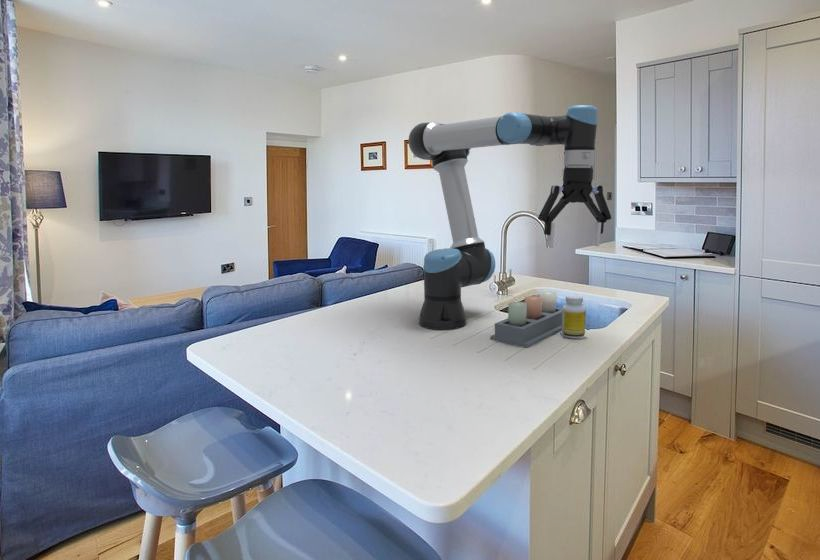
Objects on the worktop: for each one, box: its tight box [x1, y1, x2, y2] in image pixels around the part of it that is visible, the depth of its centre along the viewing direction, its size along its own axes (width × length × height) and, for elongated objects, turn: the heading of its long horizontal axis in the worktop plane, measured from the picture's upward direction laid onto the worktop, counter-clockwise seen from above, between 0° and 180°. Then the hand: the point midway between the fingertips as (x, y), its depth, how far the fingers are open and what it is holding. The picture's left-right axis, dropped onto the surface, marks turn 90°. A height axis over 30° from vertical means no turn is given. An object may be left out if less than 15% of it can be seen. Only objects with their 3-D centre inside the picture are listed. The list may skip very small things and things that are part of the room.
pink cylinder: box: [524, 295, 542, 320], centre depth 148 cm, size 5×5×6 cm
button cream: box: [538, 290, 557, 314], centre depth 155 cm, size 5×5×6 cm
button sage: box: [507, 301, 527, 327], centre depth 142 cm, size 5×5×6 cm
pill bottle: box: [560, 294, 587, 340], centre depth 144 cm, size 6×6×12 cm
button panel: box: [489, 307, 562, 349], centre depth 149 cm, size 12×27×5 cm, turn 138°
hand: (572, 246), depth 138 cm, fingers open, 13 cm apart
